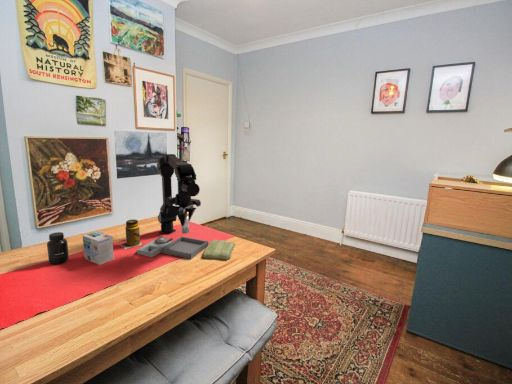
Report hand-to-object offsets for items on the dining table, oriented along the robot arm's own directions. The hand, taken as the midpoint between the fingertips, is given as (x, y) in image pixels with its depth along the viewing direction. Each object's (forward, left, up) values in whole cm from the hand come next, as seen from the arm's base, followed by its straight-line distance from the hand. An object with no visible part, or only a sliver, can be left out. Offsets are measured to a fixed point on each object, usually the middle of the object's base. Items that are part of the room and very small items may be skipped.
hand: (185, 224), depth 125 cm
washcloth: (-5, +15, -13) cm, 21 cm away
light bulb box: (+23, -28, -13) cm, 38 cm away
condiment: (+6, -27, -13) cm, 30 cm away
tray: (0, 0, -13) cm, 13 cm away
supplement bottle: (+31, -41, -13) cm, 53 cm away
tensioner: (+5, -13, -13) cm, 19 cm away
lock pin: (0, 0, -4) cm, 4 cm away
